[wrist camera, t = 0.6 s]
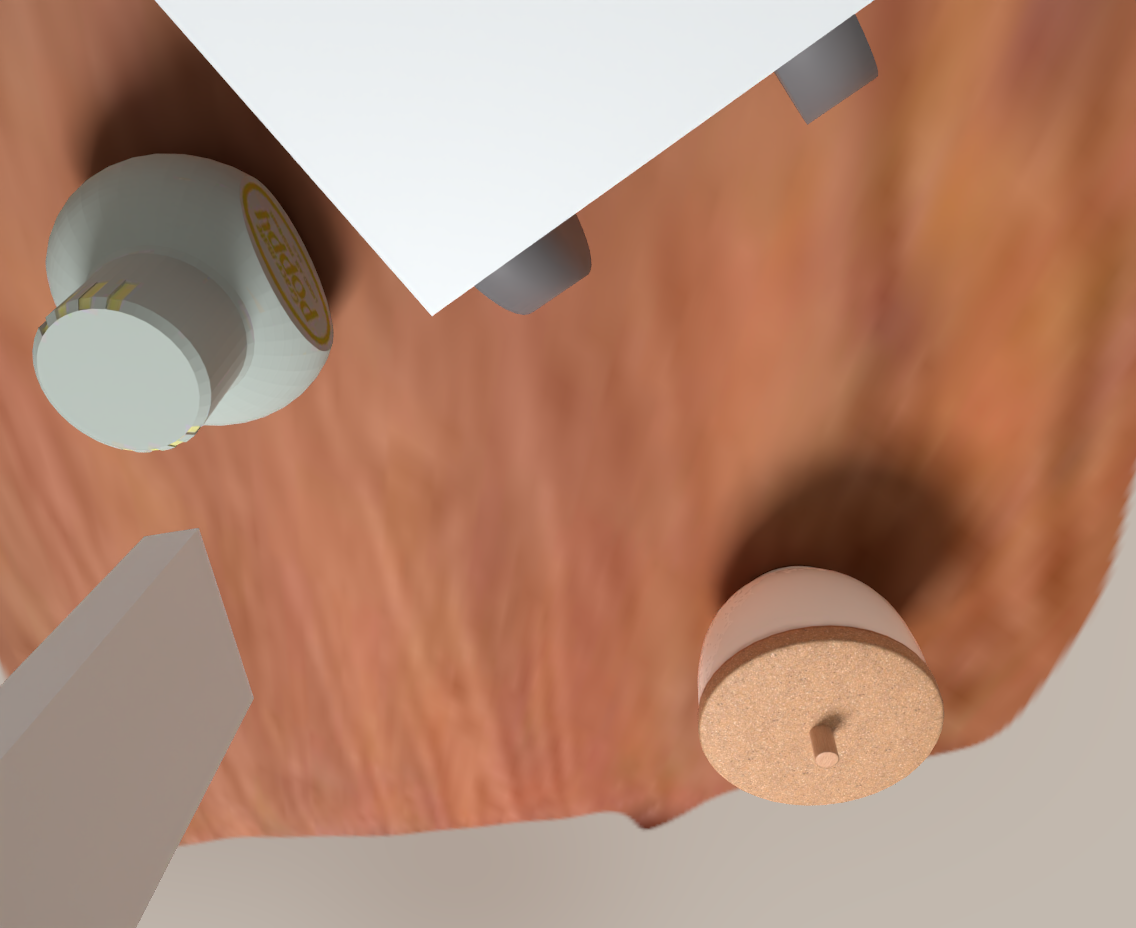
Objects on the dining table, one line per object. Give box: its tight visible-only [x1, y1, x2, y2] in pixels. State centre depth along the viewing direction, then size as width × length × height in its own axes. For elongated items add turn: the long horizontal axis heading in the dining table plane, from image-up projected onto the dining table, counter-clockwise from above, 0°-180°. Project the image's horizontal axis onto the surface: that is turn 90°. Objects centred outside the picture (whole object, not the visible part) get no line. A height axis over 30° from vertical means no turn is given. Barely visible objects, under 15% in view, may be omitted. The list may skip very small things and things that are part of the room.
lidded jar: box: [698, 566, 944, 805], centre depth 45 cm, size 11×11×9 cm
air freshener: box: [33, 154, 333, 452], centre depth 36 cm, size 11×8×10 cm
